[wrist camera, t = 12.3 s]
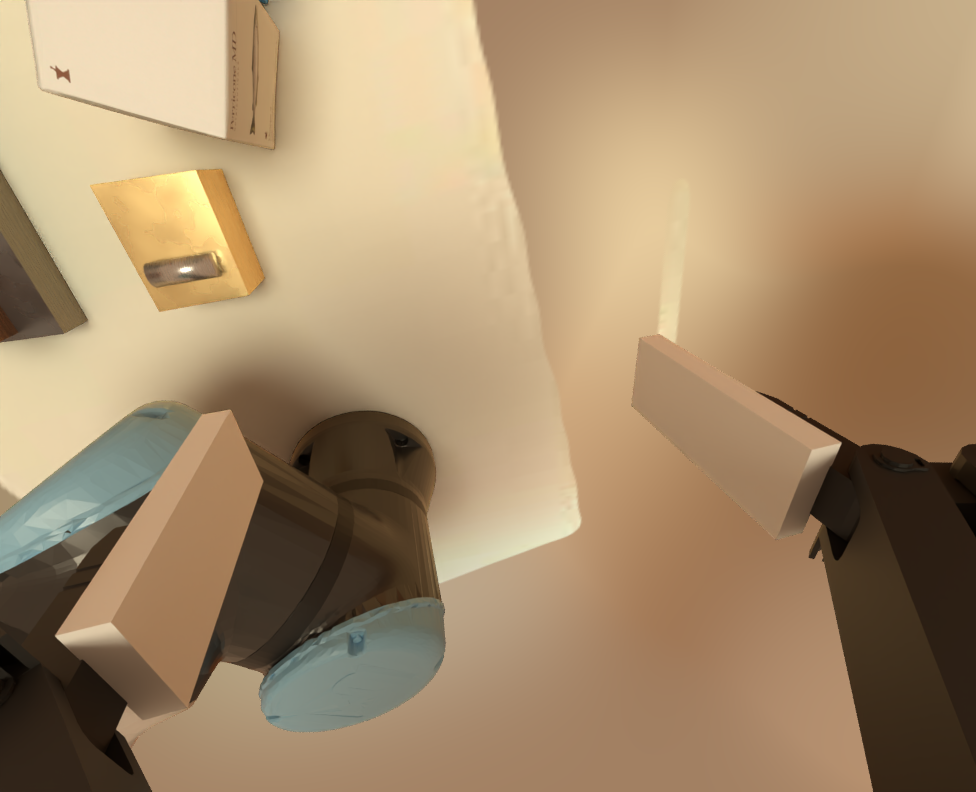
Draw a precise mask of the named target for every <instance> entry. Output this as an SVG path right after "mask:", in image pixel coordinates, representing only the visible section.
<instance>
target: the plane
mask: <svg viewBox="0 0 976 792" xmlns="http://www.w3.org/2000/svg"><path fill="white" fill-rule="evenodd" d="M86 321H88V320H87V318H86V317H85V315H84V313H83V311H82V310H81V308H80V306H79V305H78V303H77V301H76V299H75V298H74V296H73V294H72V293H71V291H70V289H69V287H68V286H67V284H66V282H65V281H64V279H63V277H62V275H61V274H60V272H59V270H58V269H57V267H56V265H55V263H54V262H53V260H52V258H51V257H50V255H49V253H48V251H47V250H46V248H45V246H44V245H43V243H42V241H41V239H40V238H39V236H38V234H37V233H36V231H35V229H34V227H33V226H32V224H31V222H30V221H29V219H28V217H27V215H26V214H25V212H24V210H23V209H22V207H21V205H20V203H19V202H18V200H17V198H16V197H15V195H14V193H13V191H12V190H11V188H10V186H9V185H8V183H7V181H6V179H5V178H4V176H3V174H2V173H1V171H0V342H7V341H14V340H21V339H28V338H36V337H43V336H50V335H58V334H64V333H66V332H68V331H70V330H72V329H73V328H75V327H77V326H79V325H80V324H82V323H84V322H86Z"/></svg>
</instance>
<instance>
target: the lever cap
mask: <svg viewBox="0 0 976 792" xmlns="http://www.w3.org/2000/svg"><path fill="white" fill-rule="evenodd" d="M90 187H91V189H92V190H93V192H94V194H95V196H96V198H97V199H98V201H99V203H100V205H101V207H102V209H103V210H104V212H105V214H106V216H107V218H108V219H109V221H110V223H111V225H112V227H113V228H114V230H115V232H116V234H117V236H118V238H119V239H120V241H121V243H122V245H123V247H124V248H125V250H126V252H127V254H128V256H129V257H130V259H131V261H132V263H133V265H134V267H135V268H136V270H137V272H138V274H139V276H140V277H141V279H142V281H143V283H144V285H145V286H146V288H147V290H148V292H149V294H150V296H151V297H152V299H153V301H154V303H155V305H156V306H157V308H158V310H159V312H161V311H166V310H172V309H177V308H183V307H188V306H193V305H199V304H204V303H210V302H215V301H221V300H226V299H232V298H237V297H242V296H248V295H250V294H251V293H252V291H253V290H254V289H255V288H256V287H257V286H258V285H259V284H260V283H261V282H262V280H263V279H264V278H265V277H264V274H263V272H262V269H261V267H260V264H259V262H258V259H257V257H256V254H255V252H254V249H253V247H252V244H251V242H250V239H249V237H248V234H247V232H246V229H245V227H244V224H243V222H242V219H241V217H240V214H239V212H238V209H237V207H236V204H235V202H234V199H233V197H232V194H231V192H230V189H229V187H228V184H227V182H226V179H225V177H224V174H223V171H222V169H213V170H195V171H187V172H180V173H173V174H166V175H159V176H151V177H144V178H137V179H130V180H123V181H116V182H108V183H101V184H94V185H90Z"/></svg>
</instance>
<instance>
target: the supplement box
mask: <svg viewBox="0 0 976 792" xmlns="http://www.w3.org/2000/svg"><path fill="white" fill-rule="evenodd" d="M25 5H26V10H27V17H28V23H29V29H30V36H31V42H32V48H33V55H34V61H35V68H36V75H37V83H38V87H39V88H40V89H41V90H42V91H45V92H48V93H51V94H55V95H58V96H62V97H65V98H69V99H72V100H76V101H79V102H82V103H86V104H89V105H93V106H96V107H100V108H103V109H107V110H110V111H113V112H117V113H121V114H124V115H128V116H132V117H136V118H139V119H143V120H147V121H150V122H154V123H158V124H162V125H165V126H169V127H173V128H177V129H181V130H185V131H190V132H194V133H198V134H202V135H206V136H211V137H215V138H220V139H224V140H229V141H233V142H238V143H243V144H248V145H254V146H259V147H264V148H268V149H274V148H275V93H276V74H277V57H278V44H279V30H278V28H277V27H276V25H275V24H274V22H273V21H272V19H271V18H270V16H269V15H268V13H267V12H266V10H265V9H264V7H263V6H262V4H261V3H260V1H259V0H25Z"/></svg>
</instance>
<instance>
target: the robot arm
mask: <svg viewBox="0 0 976 792" xmlns="http://www.w3.org/2000/svg"><path fill="white" fill-rule="evenodd" d="M631 405H632V407H633V408H634V409H635V410H637V411H638V412H639V413H640V414H641V415H642V416H643V417H644V418H645V419H646V420H647V421H648V422H650V423H651V424H652V425H653V426H654V427H655V428H656V429H657V430H658V431H659V432H660V433H661V434H662V435H663V436H664V437H666V438H667V439H668V440H669V441H670V442H671V443H672V444H673V445H674V446H675V447H677V448H678V449H679V450H680V451H681V452H682V453H683V454H684V455H685V456H686V457H687V458H688V459H689V460H690V461H691V462H692V463H694V464H695V465H696V466H697V467H698V468H699V469H700V470H701V471H702V472H703V473H704V474H705V475H706V476H708V477H709V478H710V479H711V480H712V481H713V482H714V483H715V484H716V485H717V486H718V487H719V488H721V490H723V491H724V492H725V493H726V494H727V495H728V496H729V497H730V498H731V499H732V500H733V501H734V502H736V503H737V504H738V505H739V506H740V507H741V508H742V509H743V510H744V511H745V512H746V513H747V514H748V515H749V516H751V517H752V518H753V519H754V520H755V521H756V522H757V523H758V524H759V525H760V526H761V527H762V528H763V529H765V530H766V531H767V532H768V533H769V534H770V535H771V536H772V537H773V538H774V539H775V540H778V539H782V538H785V537H789V536H793V535H796V534H799V533H802V532H803V530H804V528H805V526H806V523H807V521H808V519H809V516H810V514H811V515H813V516H814V517H815V518H816V519H818V520H819V521H820V522H821V523H822V525H821V528H820V530H819V532H818V534H817V536H816V539H815V541H814V543H813V545H812V547H811V549H810V552H809V558H812V559H814V558H815V556H816V554H817V552H818V551H820V550H822V554H823V560H822V561H823V562H824V564H825V568H826V573H827V578H828V582H829V586H830V591H831V596H832V601H833V605H834V610H835V615H836V620H837V624H838V629H839V634H840V638H841V643H842V648H843V652H844V657H845V662H846V666H847V671H848V675H849V680H850V685H851V689H852V694H853V699H854V704H855V708H856V713H857V718H858V722H859V727H860V731H861V736H862V741H863V745H864V750H865V755H866V760H867V764H868V769H869V774H870V778H871V783H872V788H873V792H976V444H970V445H967V446H964V447H962V448H961V450H960V452H959V453H958V455H957V456H956V458H955V460H954V461H953V463H935V462H934V463H933V462H932V463H931V462H930V463H929V462H927V461H926V460H924V459H922V458H921V457H919V456H917V455H916V454H913V453H911V452H908V451H905V450H903V449H900V448H896V447H892V446H888V445H879V444H869V445H863V446H861V447H860V446H858V445H857V444H855V443H853V442H851V441H850V440H848V439H846V438H844V437H843V436H841V435H839V434H837V433H835V432H834V431H832V430H831V429H829V428H827V427H825V426H824V425H822V424H820V423H819V422H817V421H815V420H813V419H812V418H807V416H806V415H805V414H803V413H801V412H799V411H798V410H794V409H793V407H791V406H789V405H787V404H786V403H784V402H782V401H780V400H779V399H777V398H774V397H772V396H769V395H766V394H763V393H760V392H757V391H754V390H752V389H750V388H749V387H747V386H745V385H744V384H742V383H740V382H739V381H737V380H735V379H734V378H732V377H730V376H729V375H727V374H725V373H724V372H722V371H720V370H718V369H717V368H715V367H713V366H712V365H710V364H708V363H707V362H705V361H703V360H702V359H700V358H698V357H697V356H695V355H693V354H691V353H690V352H688V351H686V350H685V349H683V348H681V347H680V346H678V345H676V344H675V343H673V342H671V341H670V340H668V339H666V338H665V337H663V336H661V335H660V334H658V335H652V336H647V337H641V338H639V344H638V353H637V362H636V370H635V379H634V388H633V396H632V404H631ZM435 481H436V468H435V462H434V458H433V453H432V450H431V447H430V445H429V443H428V441H427V440H426V438H425V437H424V436H423V434H422V433H421V432H420V431H419V430H418V429H417V428H415V427H414V426H413V425H411V424H410V423H408V422H407V421H405V420H403V419H401V418H398V417H396V416H393V415H390V414H386V413H381V412H373V411H359V412H350V413H345V414H341V415H338V416H335V417H332V418H330V419H327V420H325V421H323V422H321V423H320V424H318V425H317V426H315V427H314V428H312V429H311V430H310V431H309V432H308V433H307V434H306V435H305V436H304V437H303V438H302V439H301V440H300V442H299V443H298V445H297V446H296V448H295V450H294V452H293V455H292V458H291V462H290V464H288V463H286V462H285V461H283V460H281V459H280V458H278V457H276V456H275V455H273V454H271V453H270V452H268V451H266V450H265V449H263V448H261V447H260V446H258V445H256V444H255V443H253V442H251V441H250V440H248V439H246V438H245V437H243V435H242V433H241V431H240V429H239V426H238V424H237V422H236V420H235V418H234V415H233V413H232V411H231V409H230V410H224V411H219V412H213V413H207V414H202V413H200V412H198V411H196V410H194V409H192V408H190V407H189V406H187V405H184V404H182V403H179V402H174V401H156V402H151V403H148V404H145V405H143V406H141V407H139V408H137V409H136V410H134V411H133V412H131V413H130V414H129V415H127V416H126V417H124V418H123V419H122V420H120V421H119V422H118V423H116V424H115V425H114V426H113V427H111V428H110V429H109V430H107V431H106V432H105V433H104V434H102V435H101V436H100V437H98V438H97V439H96V440H95V441H93V442H92V443H91V444H89V445H88V446H87V447H86V448H84V449H83V450H82V451H81V452H79V453H78V454H77V455H76V456H74V457H73V458H72V459H71V460H69V461H68V462H67V463H65V464H64V465H63V466H62V467H60V468H59V469H58V470H57V471H55V472H54V473H53V474H52V475H50V476H49V477H48V478H47V479H45V480H44V481H43V482H42V483H40V484H39V485H38V486H37V487H35V488H34V489H33V490H32V491H31V492H29V493H28V494H27V495H26V496H24V497H23V498H22V499H21V500H19V501H18V502H17V503H16V504H14V505H13V506H12V507H11V508H10V509H8V510H7V511H6V512H5V513H3V514H2V515H1V516H0V792H152V790H151V789H150V786H149V785H148V782H147V780H146V779H145V776H144V774H143V772H142V770H141V768H140V766H139V764H138V762H137V760H136V759H135V756H134V754H133V753H132V750H131V748H132V746H133V745H134V743H135V742H136V740H137V739H138V737H139V736H140V735H141V734H143V733H144V732H145V731H146V730H148V729H149V728H150V727H152V726H154V725H156V724H158V723H160V722H162V721H164V720H166V719H168V718H170V717H173V716H175V715H177V714H179V713H181V712H183V711H185V710H187V709H188V708H190V707H191V706H192V705H193V704H194V702H195V701H196V699H197V698H198V696H199V694H200V692H201V690H202V689H203V687H204V686H205V684H206V682H207V681H208V679H209V677H210V676H211V674H212V672H213V671H214V669H215V668H216V666H217V664H218V663H219V662H220V661H222V662H227V663H232V664H235V665H239V666H242V667H246V668H248V669H252V670H255V671H258V672H261V673H263V675H264V676H265V677H264V679H263V682H262V683H261V685H260V689H259V697H260V699H261V710H262V712H263V713H264V714H265V716H266V719H267V720H268V722H269V723H271V724H272V725H274V726H276V727H278V728H281V729H284V730H287V731H293V732H321V731H328V730H335V729H340V728H344V727H347V726H352V725H355V724H358V723H361V722H364V721H368V720H370V719H373V718H376V717H378V716H380V715H382V714H384V713H387V712H389V711H391V710H393V709H394V708H396V707H398V706H400V705H401V704H403V703H405V702H406V701H408V700H409V699H411V698H412V697H414V696H415V695H416V694H417V693H419V692H420V691H421V690H422V689H423V688H424V687H425V686H426V685H427V684H428V683H429V682H430V681H431V680H432V679H433V677H434V676H435V674H436V673H437V671H438V670H439V668H440V666H441V663H442V661H443V658H444V652H445V644H446V642H445V631H444V619H443V617H444V613H445V609H444V605H443V603H442V601H441V595H440V590H439V584H438V578H437V573H436V567H435V561H434V556H433V550H432V544H431V538H430V532H429V526H428V521H427V512H428V508H429V505H430V501H431V497H432V494H433V490H434V486H435Z"/></svg>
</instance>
